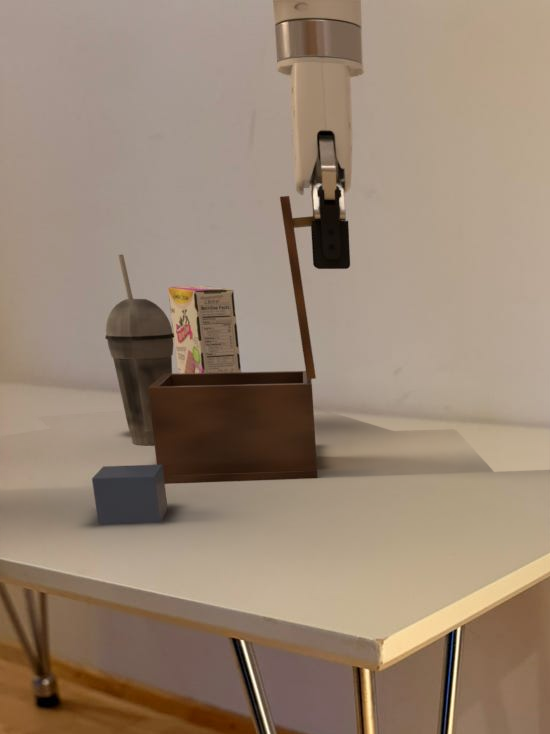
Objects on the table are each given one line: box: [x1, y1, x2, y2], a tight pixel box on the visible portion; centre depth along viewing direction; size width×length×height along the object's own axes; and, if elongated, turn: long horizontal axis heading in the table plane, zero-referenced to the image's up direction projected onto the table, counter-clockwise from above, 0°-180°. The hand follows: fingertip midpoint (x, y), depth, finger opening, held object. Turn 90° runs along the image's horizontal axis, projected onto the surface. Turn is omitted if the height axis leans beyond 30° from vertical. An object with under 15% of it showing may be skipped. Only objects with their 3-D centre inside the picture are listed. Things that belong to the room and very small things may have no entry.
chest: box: [148, 370, 319, 485], centre depth 96 cm, size 15×12×9 cm
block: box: [91, 464, 169, 526], centre depth 76 cm, size 4×4×4 cm
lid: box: [279, 195, 340, 380], centre depth 93 cm, size 15×12×5 cm
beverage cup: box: [105, 254, 174, 446], centre depth 109 cm, size 7×7×20 cm
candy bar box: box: [167, 285, 242, 373], centre depth 120 cm, size 11×5×16 cm, turn 32°
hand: (331, 267), depth 93 cm, fingers open, 7 cm apart
